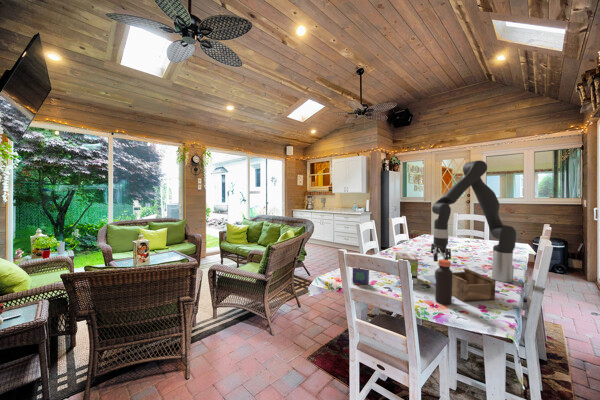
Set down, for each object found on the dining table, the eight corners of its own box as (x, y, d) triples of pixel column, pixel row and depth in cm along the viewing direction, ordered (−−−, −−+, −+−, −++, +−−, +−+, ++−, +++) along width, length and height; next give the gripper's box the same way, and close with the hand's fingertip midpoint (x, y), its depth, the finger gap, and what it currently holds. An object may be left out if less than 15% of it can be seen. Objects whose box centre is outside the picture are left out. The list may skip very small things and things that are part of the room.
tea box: (417, 284, 140) (418, 259, 139) (399, 283, 142) (399, 258, 141) (411, 275, 155) (412, 252, 154) (394, 274, 157) (395, 251, 156)
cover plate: (421, 277, 154) (421, 268, 154) (441, 276, 156) (442, 267, 156) (436, 285, 140) (436, 276, 140) (458, 284, 142) (458, 275, 142)
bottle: (442, 298, 123) (443, 258, 122) (454, 304, 117) (456, 262, 116) (431, 299, 121) (433, 259, 120) (444, 306, 115) (445, 263, 114)
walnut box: (437, 287, 137) (438, 269, 136) (465, 286, 139) (466, 268, 138) (462, 301, 119) (463, 281, 119) (494, 300, 121) (495, 280, 121)
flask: (369, 283, 141) (369, 265, 140) (368, 285, 138) (368, 266, 138) (352, 281, 144) (353, 263, 144) (351, 283, 142) (352, 264, 141)
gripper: (455, 238, 140) (454, 266, 141) (438, 234, 155) (438, 259, 155) (443, 239, 140) (442, 267, 140) (427, 234, 154) (427, 260, 154)
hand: (440, 263), depth 148 cm, fingers open, 8 cm apart
